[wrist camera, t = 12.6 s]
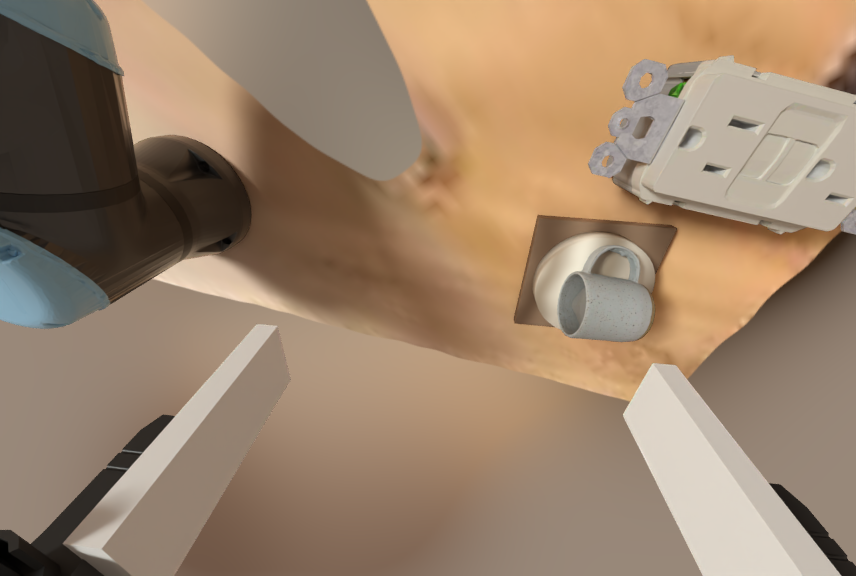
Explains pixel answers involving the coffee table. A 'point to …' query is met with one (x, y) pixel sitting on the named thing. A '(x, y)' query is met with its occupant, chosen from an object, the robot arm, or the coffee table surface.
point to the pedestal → (583, 259)
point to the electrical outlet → (736, 145)
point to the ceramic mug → (605, 302)
